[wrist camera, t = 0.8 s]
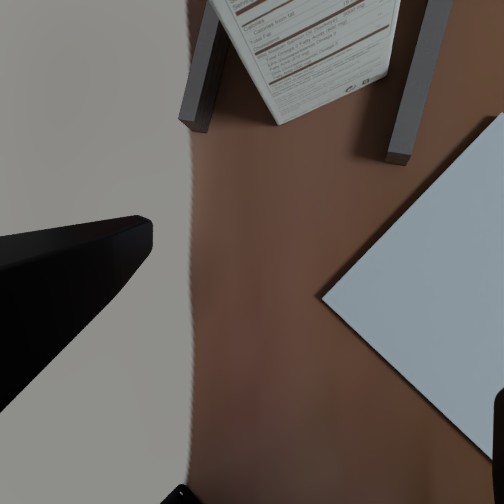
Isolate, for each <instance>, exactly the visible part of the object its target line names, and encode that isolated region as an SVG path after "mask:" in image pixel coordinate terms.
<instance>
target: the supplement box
mask: <svg viewBox="0 0 504 504" xmlns="http://www.w3.org/2000/svg"><path fill="white" fill-rule="evenodd" d="M400 1H401V0H209V2H210V3H211V5H212V7H213V9H214V11H215V12H216V14H217V16H218V18H219V20H220V22H221V23H222V25H223V27H224V29H225V31H226V32H227V34H228V36H229V38H230V40H231V42H232V44H233V46H234V47H235V49H236V51H237V53H238V55H239V57H240V59H241V61H242V62H243V64H244V66H245V68H246V70H247V71H248V73H249V75H250V77H251V79H252V80H253V82H254V84H255V86H256V87H257V89H258V91H259V93H260V95H261V96H262V98H263V100H264V102H265V103H266V105H267V107H268V109H269V111H270V112H271V114H272V116H273V117H274V119H275V121H276V123H277V125H281V124H283V123H286V122H288V121H290V120H293V119H295V118H297V117H299V116H301V115H303V114H305V113H308V112H310V111H312V110H314V109H316V108H319V107H321V106H323V105H325V104H327V103H330V102H332V101H334V100H336V99H338V98H340V97H343V96H345V95H347V94H349V93H351V92H354V91H356V90H358V89H360V88H362V87H364V86H366V85H368V84H370V83H373V82H375V81H377V80H379V79H381V78H383V77H385V76H386V75H387V73H388V66H389V61H390V56H391V51H392V44H393V39H394V33H395V28H396V23H397V18H398V11H399V6H400Z"/></svg>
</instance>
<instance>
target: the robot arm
mask: <svg viewBox="0 0 504 504" xmlns="http://www.w3.org/2000/svg"><path fill="white" fill-rule="evenodd" d="M152 246H153V224H152V222H151V220H149V219H147V218H144V217H142V216H139V215H134V216H127V217H120V218H114V219H108V220H101V221H95V222H89V223H83V224H76V225H70V226H64V227H57V228H51V229H44V230H38V231H32V232H25V233H19V234H13V235H6V236H0V413H1V412H2V411H3V409H4V408H5V407H6V406H7V405H8V404H9V403H10V402H11V401H12V400H13V399H14V398H15V397H16V396H17V395H18V394H19V393H20V392H21V391H22V390H23V389H24V388H25V387H26V386H27V385H28V384H29V383H30V382H31V381H32V380H33V379H34V378H35V377H36V376H37V375H38V374H39V373H40V372H41V371H42V370H43V369H44V368H45V367H46V366H47V365H48V364H49V363H50V362H51V361H52V360H53V359H54V358H55V357H56V356H57V355H58V354H59V353H60V352H61V351H62V350H63V349H64V348H65V347H66V346H67V345H68V344H69V343H70V342H71V341H72V340H73V339H74V338H75V337H76V336H77V335H78V334H79V333H80V332H81V331H82V330H83V329H84V328H85V327H86V325H88V324H89V323H90V321H92V320H93V319H94V318H95V317H96V315H98V314H99V312H101V310H103V309H104V307H105V306H106V305H107V304H108V303H109V302H110V301H111V300H112V299H113V298H114V297H115V296H116V295H117V294H118V293H119V292H120V290H121V289H122V288H123V287H124V286H125V284H126V283H127V282H128V281H129V279H130V278H131V277H132V275H133V274H134V273H135V272H136V270H137V269H138V268H139V267H140V265H141V264H142V263H143V262H144V260H145V259H146V258H147V257H148V255H149V254H150V252H151V250H152ZM492 476H493V490H494V501H495V504H504V387H503V388H502V389H501V390H500V391H499V392H498V393H497V395H496V397H495V400H494V414H493V449H492ZM180 492H182V493H183V495H181V494H180ZM160 504H200V503H199V501H198V500H197V499H196V498H195V496H194V495H193V494H192V492H191V491H190V490H189V489H188V487H187V486H186V485H184V484H180V485H178V486H177V487H176V488H175V489H174V490H173V491H172V492H171V493H170V494H169V495H168V496H167V497H166V498H165V499H164V500H163V501H162V502H161V503H160Z"/></svg>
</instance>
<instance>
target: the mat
mask: <svg viewBox="0 0 504 504" xmlns="http://www.w3.org/2000/svg"><path fill="white" fill-rule="evenodd" d="M322 299H323V300H324V301H325V302H326V303H327V304H328V305H329V306H330V307H331V308H332V309H333V310H334V311H335V312H336V313H337V314H338V315H339V316H341V317H342V318H343V319H344V320H345V321H346V322H347V323H348V324H349V325H350V326H351V327H352V328H353V329H354V330H355V331H356V332H357V333H358V334H360V335H361V336H362V337H363V338H364V339H365V340H366V341H367V342H368V343H369V344H370V345H371V346H372V347H373V348H374V349H375V350H376V351H378V352H379V353H380V354H381V355H382V356H383V357H384V358H385V359H386V360H387V361H388V362H389V363H390V364H391V365H392V366H393V367H394V368H396V369H397V370H398V371H399V372H400V373H401V374H402V375H403V376H404V377H405V378H406V379H407V380H408V381H409V382H410V383H411V384H412V385H414V386H415V387H416V388H417V389H418V390H419V391H420V392H421V393H422V394H423V395H424V396H425V397H426V398H427V399H428V400H429V401H430V402H432V403H433V404H434V405H435V406H436V407H437V408H438V409H439V410H440V411H441V412H442V413H443V414H444V415H445V416H446V417H447V418H448V419H450V420H451V421H452V422H453V423H454V424H455V425H456V426H457V427H458V428H459V429H460V430H461V431H462V432H463V433H464V434H465V435H466V436H468V437H469V438H470V439H471V440H472V441H473V442H474V443H475V444H476V445H477V446H478V447H479V448H480V449H481V450H482V451H483V452H484V453H486V454H487V455H488V456H489V457H490V458H491V459H492V449H493V414H494V400H495V397H496V395H497V393H498V392H499V391H500V390H501V389H502V388H503V387H504V113H501V114H500V115H499V116H498V117H497V118H496V119H495V120H494V121H493V122H492V123H491V124H490V125H489V126H488V127H487V128H486V129H485V130H484V131H483V132H482V133H481V134H480V135H479V136H478V137H477V138H476V139H475V141H474V142H473V143H472V144H471V145H470V146H469V147H468V148H467V149H466V150H465V151H464V152H463V153H462V154H461V155H460V156H459V157H458V158H457V159H456V160H455V161H454V162H453V163H452V164H451V165H450V166H449V167H448V169H447V170H446V171H445V172H444V173H443V174H442V175H441V176H440V177H439V178H438V179H437V180H436V181H435V182H434V183H433V184H432V185H431V186H430V187H429V188H428V189H427V190H426V191H425V192H424V193H423V194H422V195H421V196H420V198H419V199H418V200H417V201H416V202H415V203H414V204H413V205H412V206H411V207H410V208H409V209H408V210H407V211H406V212H405V213H404V214H403V215H402V216H401V217H400V218H399V219H398V220H397V221H396V222H395V223H394V224H393V225H392V227H391V228H390V229H389V230H388V231H387V232H386V233H385V234H384V235H383V236H382V237H381V238H380V239H379V240H378V241H377V242H376V243H375V244H374V245H373V246H372V247H371V248H370V249H369V250H368V251H367V252H366V253H365V255H364V256H363V257H362V258H361V259H360V260H359V261H358V262H357V263H356V264H355V265H354V266H353V267H352V268H351V269H350V270H349V271H348V272H347V273H346V274H345V275H344V276H343V277H342V278H341V279H340V280H339V281H338V282H337V284H336V285H335V286H334V287H333V288H332V289H331V290H330V291H329V292H328V293H327V294H326V295H325V296H324V297H323V298H322Z"/></svg>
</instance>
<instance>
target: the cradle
mask: <svg viewBox="0 0 504 504" xmlns="http://www.w3.org/2000/svg"><path fill="white" fill-rule="evenodd" d="M453 1H454V0H428V3H427V7H426V10H425V14H424V18H423V21H422V25H421V29H420V32H419V36H418V40H417V44H416V47H415V51H414V55H413V58H412V62H411V66H410V70H409V73H408V77H407V81H406V84H405V88H404V92H403V95H402V99H401V103H400V107H399V110H398V114H397V118H396V121H395V125H394V129H393V133H392V136H391V140H390V144H389V147H388V151H387V155H386V158H385V162H386V163H392V164H398V165H404V166H406V164H407V162H408V160H409V159H410V157H411V155H412V151H413V147H414V144H415V140H416V136H417V133H418V129H419V125H420V122H421V118H422V114H423V111H424V107H425V103H426V100H427V96H428V92H429V89H430V85H431V81H432V78H433V74H434V70H435V67H436V63H437V59H438V56H439V52H440V48H441V45H442V41H443V37H444V34H445V30H446V26H447V23H448V19H449V15H450V12H451V8H452V4H453ZM229 42H230V38H229V36H228V34H227V32H226V31H225V29H224V27H223V25H222V23H221V22H220V20H219V18H218V16H217V14H216V12H215V11H214V9H213V7H212V5H211V3H210V2H209V0H207V2H206V7H205V11H204V15H203V19H202V23H201V27H200V31H199V35H198V39H197V43H196V47H195V52H194V56H193V60H192V64H191V68H190V72H189V76H188V80H187V84H186V88H185V93H184V97H183V101H182V105H181V109H180V113H179V117H178V119H179V120H180V121H181V122H183V123H184V124H185V125H186V126H187V127H188V128H190V129H191V130H192V131H197V132H203V133H207V131H208V127H209V123H210V119H211V115H212V111H213V107H214V103H215V99H216V95H217V91H218V87H219V83H220V79H221V75H222V71H223V67H224V63H225V59H226V55H227V51H228V47H229Z"/></svg>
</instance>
